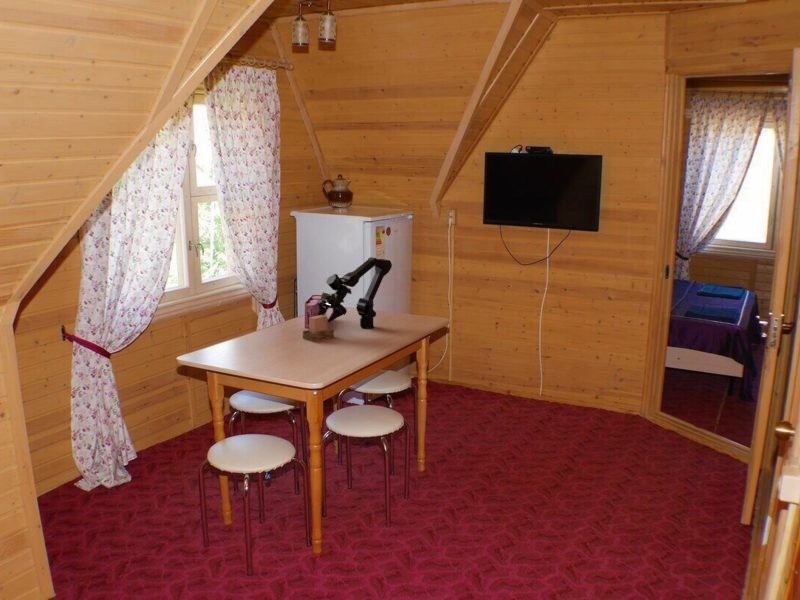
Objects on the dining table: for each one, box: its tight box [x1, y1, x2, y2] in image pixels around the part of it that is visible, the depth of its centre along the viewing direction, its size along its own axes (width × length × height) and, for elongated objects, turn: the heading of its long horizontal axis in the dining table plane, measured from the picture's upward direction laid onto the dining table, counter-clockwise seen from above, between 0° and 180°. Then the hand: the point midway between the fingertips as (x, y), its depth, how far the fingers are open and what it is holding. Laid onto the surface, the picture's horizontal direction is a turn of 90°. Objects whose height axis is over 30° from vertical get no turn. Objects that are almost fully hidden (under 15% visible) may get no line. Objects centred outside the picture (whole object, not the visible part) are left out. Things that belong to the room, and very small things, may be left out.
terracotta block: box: [308, 315, 328, 335], centre depth 374 cm, size 8×4×10 cm, turn 133°
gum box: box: [304, 294, 327, 329], centre depth 403 cm, size 24×8×14 cm, turn 175°
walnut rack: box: [302, 329, 335, 343], centre depth 374 cm, size 13×9×4 cm
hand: (322, 320), depth 375 cm, fingers open, 9 cm apart
